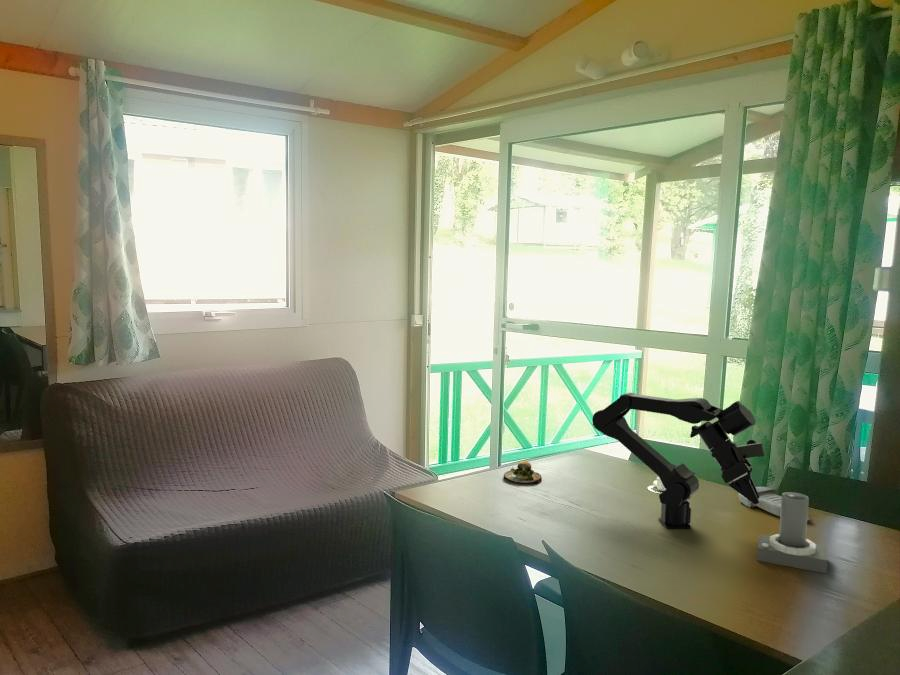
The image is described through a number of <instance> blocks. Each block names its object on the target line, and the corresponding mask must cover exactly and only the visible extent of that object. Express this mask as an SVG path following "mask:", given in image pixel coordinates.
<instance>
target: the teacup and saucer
mask: <svg viewBox="0 0 900 675" xmlns="http://www.w3.org/2000/svg"><path fill="white" fill-rule="evenodd" d="M652 484H653V485H649V486H647V490H648V491H650V492H651V493H655V494H659V495H660V494H661V493H662V492H664V491H665V490H666V489H665V487H664V486H663V484H662V482H661V480H660V478H659V476H656V480H653V481H652ZM653 487H654V488H657V490H658V491H656V492H655V490H653ZM651 488H652V489H651ZM659 490H660V491H659ZM660 492H661V493H660Z"/></svg>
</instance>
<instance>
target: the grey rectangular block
mask: <svg viewBox="0 0 900 675" xmlns="http://www.w3.org/2000/svg"><path fill="white" fill-rule="evenodd" d="M806 541H807V544H806V547H805V548H793V547H788V546H785V545H782V544H780V543H779V533H776V534H773V535H765V534H759V537H758V543H757V544H758V545H757V553H756V561H758V562H763V563H769V564H774V565H778V566H779V565H780V566H783V567H789V568H795V569H800V570H806V571H810V572H816V573H820V574H825V575H827V573H828V572H827V571H828V551H827V546H826V545H823V544H821V545H820V544H816V543H815V542H813V541H812V540H810V539H809V538H806Z"/></svg>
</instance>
